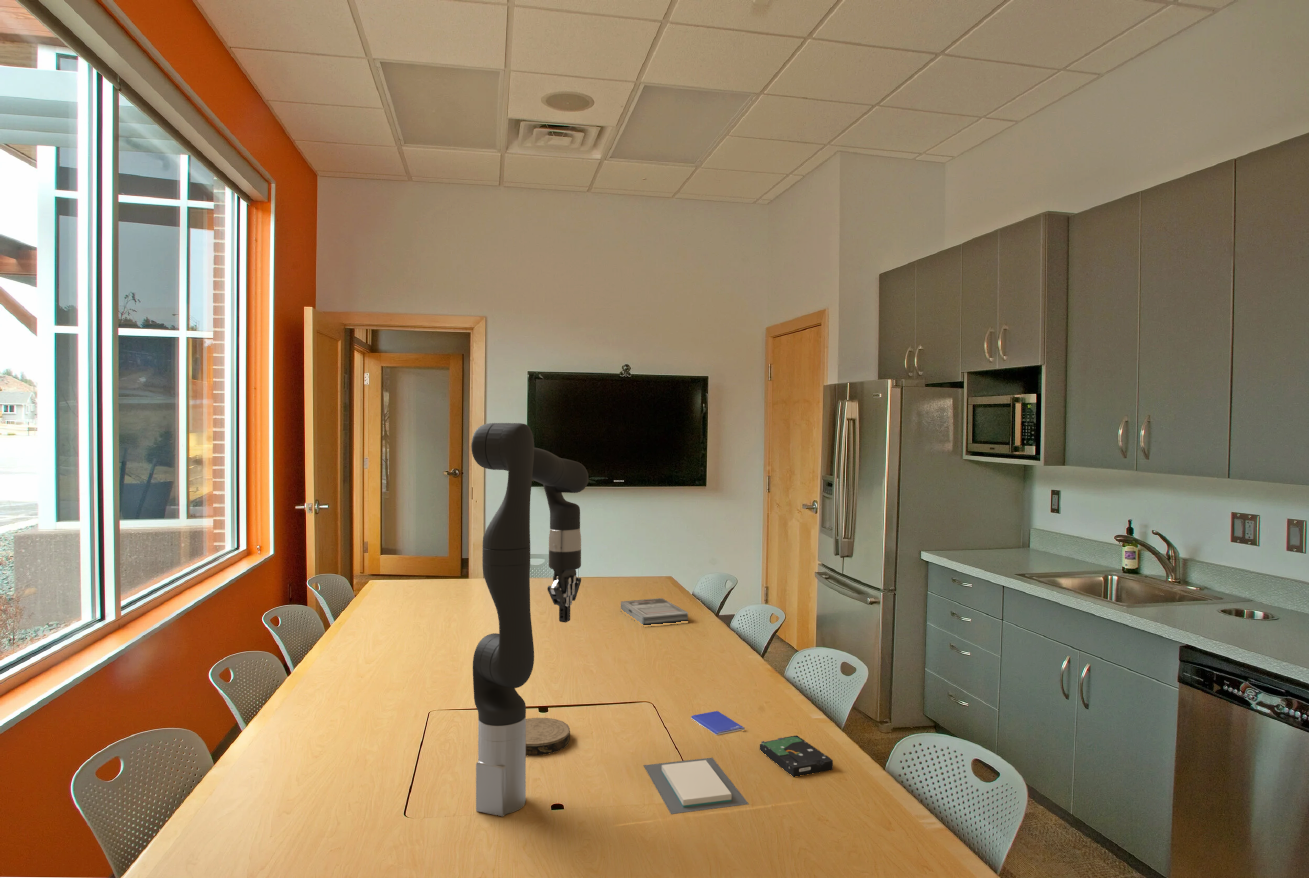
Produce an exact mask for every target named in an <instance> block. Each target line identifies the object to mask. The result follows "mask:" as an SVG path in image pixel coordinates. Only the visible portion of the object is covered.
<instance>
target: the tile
mask: <svg viewBox="0 0 1309 878" xmlns="http://www.w3.org/2000/svg"><path fill="white" fill-rule="evenodd" d="M662 773H663V775H664V777H665V778H666V780H667V782H668V783H669V785H670V786H671V788H672V790H673V791H674V793H675V795H676V796H677V798H678V800H679V801H680V803H681V805H682V806H683V807H691V806H699V805H707V804H715V803H723V802H731V797H732V794H731V793H730V791H729V790H728V789H727V787H726V786H725V785H724V783H723V782H722V781H721V779H720V778H719V777H718V776H717V774H716V773H715V772H714V770H713V769H712V768H711V766H710V765H709V764H708V762H707V761H706V760H703V761H694V762H685V763H676V764H667V765H662Z"/></svg>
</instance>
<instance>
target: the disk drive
mask: <svg viewBox="0 0 1309 878" xmlns="http://www.w3.org/2000/svg"><path fill="white" fill-rule="evenodd" d="M760 750H761V751H762V752H763V753H764V754H766V755H767V756H768V757H769V758H770V760H771V759H772V760H773V761H774V762H773V761H772V760H771V761H772V762H773V763H775V764H776V763H777V764H778V765H779V767H780V768H781V769H782V768H783V769H784V770H783V769H782V770H783V771H784V772H785V773H787V772H788V773H789V774H791V775H792V776H793V777H792V776H791V775H790V776H791V777H792V778H796V777H795V776H798V777H801V776H800V775H804V776H808V775H807V774H809V775H813V774H812V773H814V774H819V772H820V773H825V772H828V771H829V770H830V771H833V770H834V760H833V759H832V758H831V757H829V755H826V754H825V753H823V752H822V751H820V750H819V749H817V748H816V747H814V746H813V745H811V743H809V742H807V741H806V740H805V739H804V738H801V737H800V736H798V735H790V736H784V737H778V738H777V739H773V740H766V741H764V740H762V741H761V743H760V744H759V751H760ZM761 751H760V752H761ZM762 752H761V753H762ZM764 754H763V755H764ZM767 756H766V757H767ZM768 757H767V758H768ZM769 758H768V759H769ZM777 764H776V765H777ZM778 765H777V766H778ZM788 773H787V774H788ZM789 774H788V775H789Z"/></svg>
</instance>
